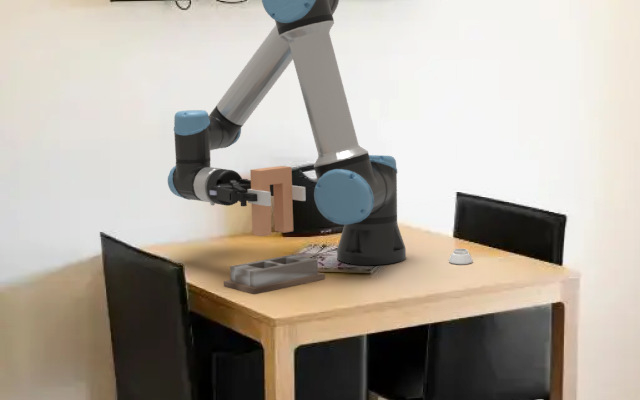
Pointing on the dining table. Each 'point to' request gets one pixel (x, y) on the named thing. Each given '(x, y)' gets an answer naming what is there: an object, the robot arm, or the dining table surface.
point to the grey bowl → (460, 257)
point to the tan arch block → (282, 200)
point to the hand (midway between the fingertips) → (286, 196)
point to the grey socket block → (273, 274)
